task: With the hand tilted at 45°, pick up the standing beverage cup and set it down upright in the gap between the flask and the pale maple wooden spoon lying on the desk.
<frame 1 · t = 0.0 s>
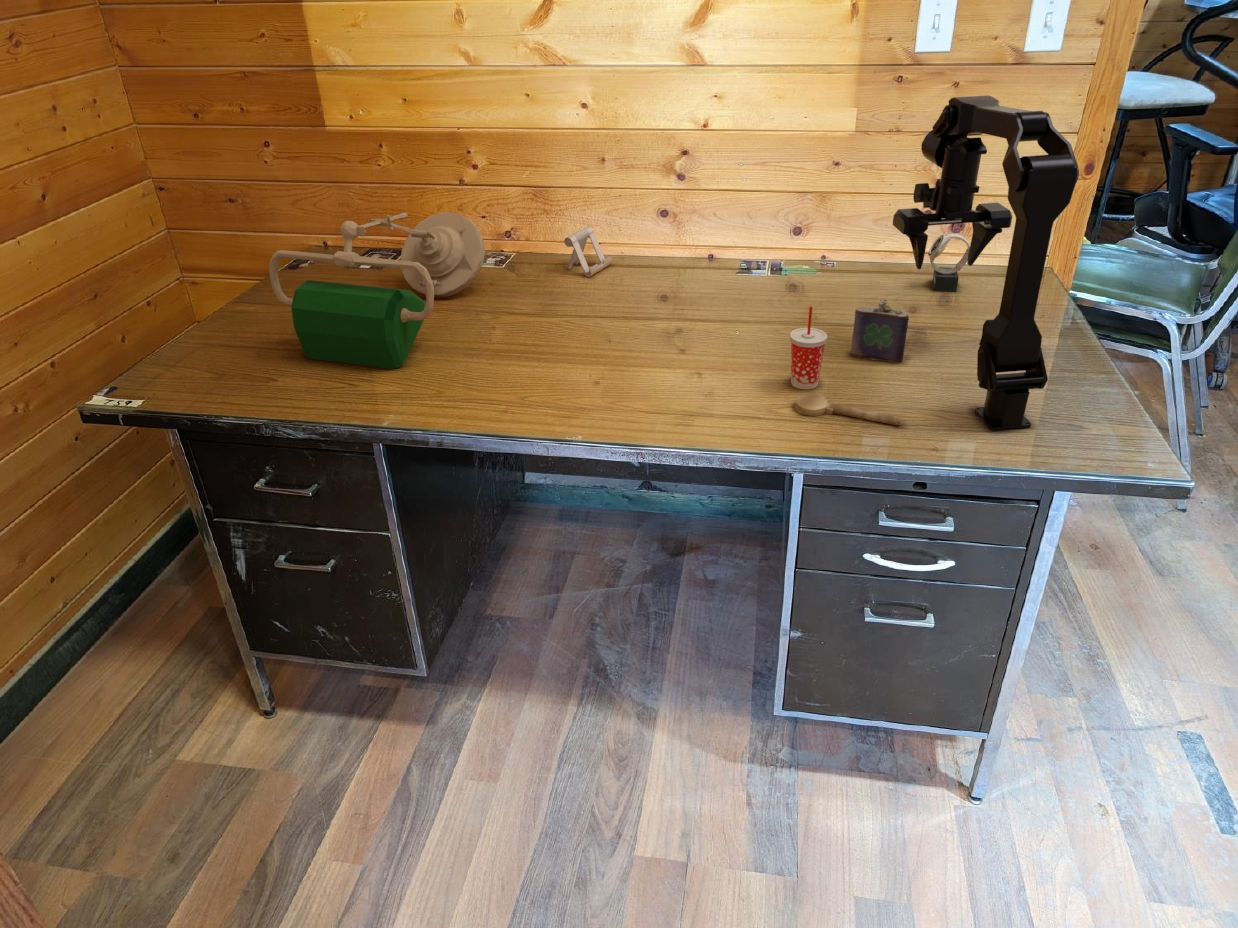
hand: (944, 266, 157), 15 cm above the table, tool pointing down, fingers open, 9 cm apart
tablet stand: (587, 269, 204), on the table
flask: (876, 358, 161), on the table
spoon: (844, 414, 144), on the table
banker's lamp: (410, 317, 185), on the table
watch: (943, 287, 188), on the table
beverage cup: (804, 384, 154), on the table
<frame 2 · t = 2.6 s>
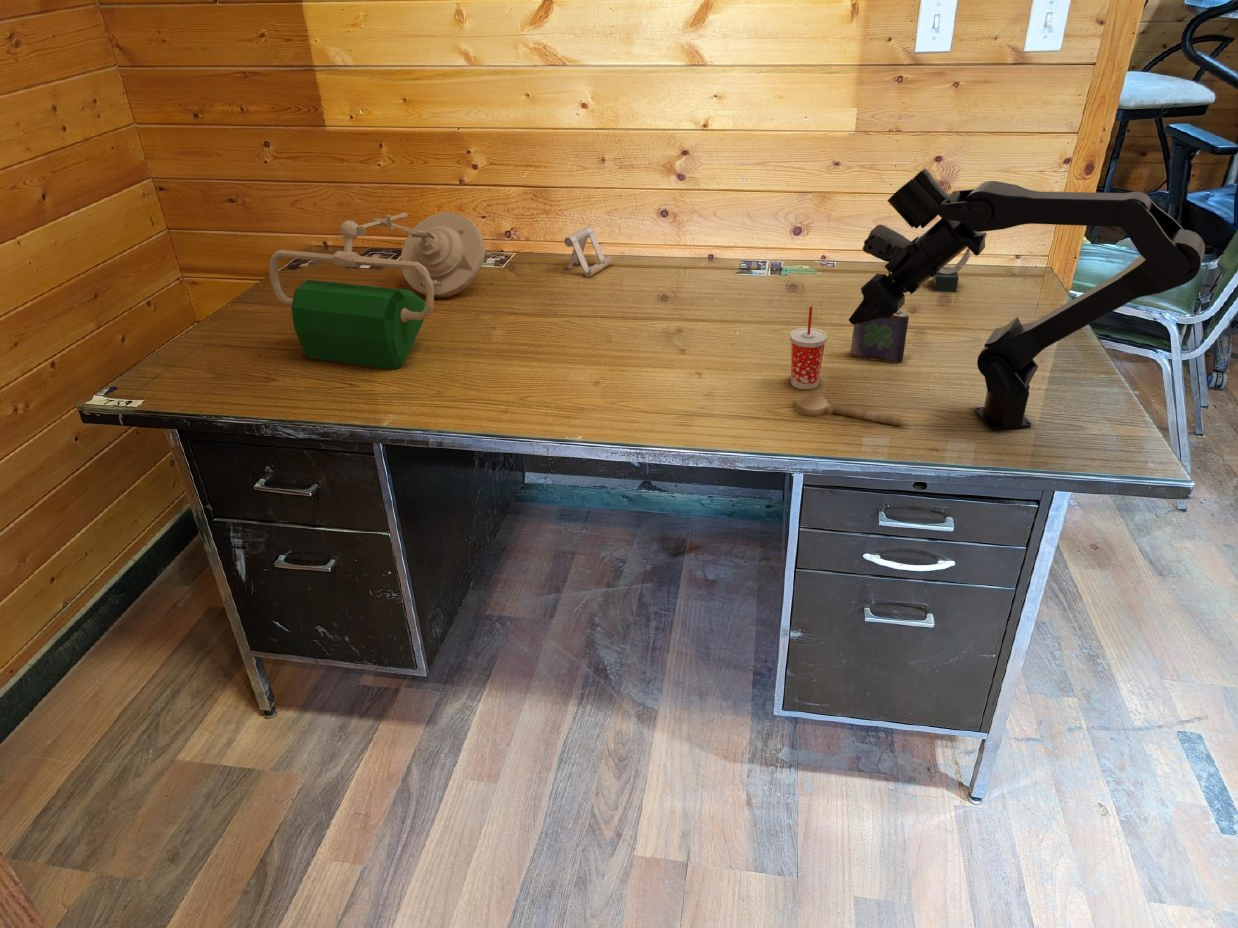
hand: (860, 312, 146), 13 cm above the table, tool tilted 40°, fingers open, 9 cm apart
nothing on the table moved.
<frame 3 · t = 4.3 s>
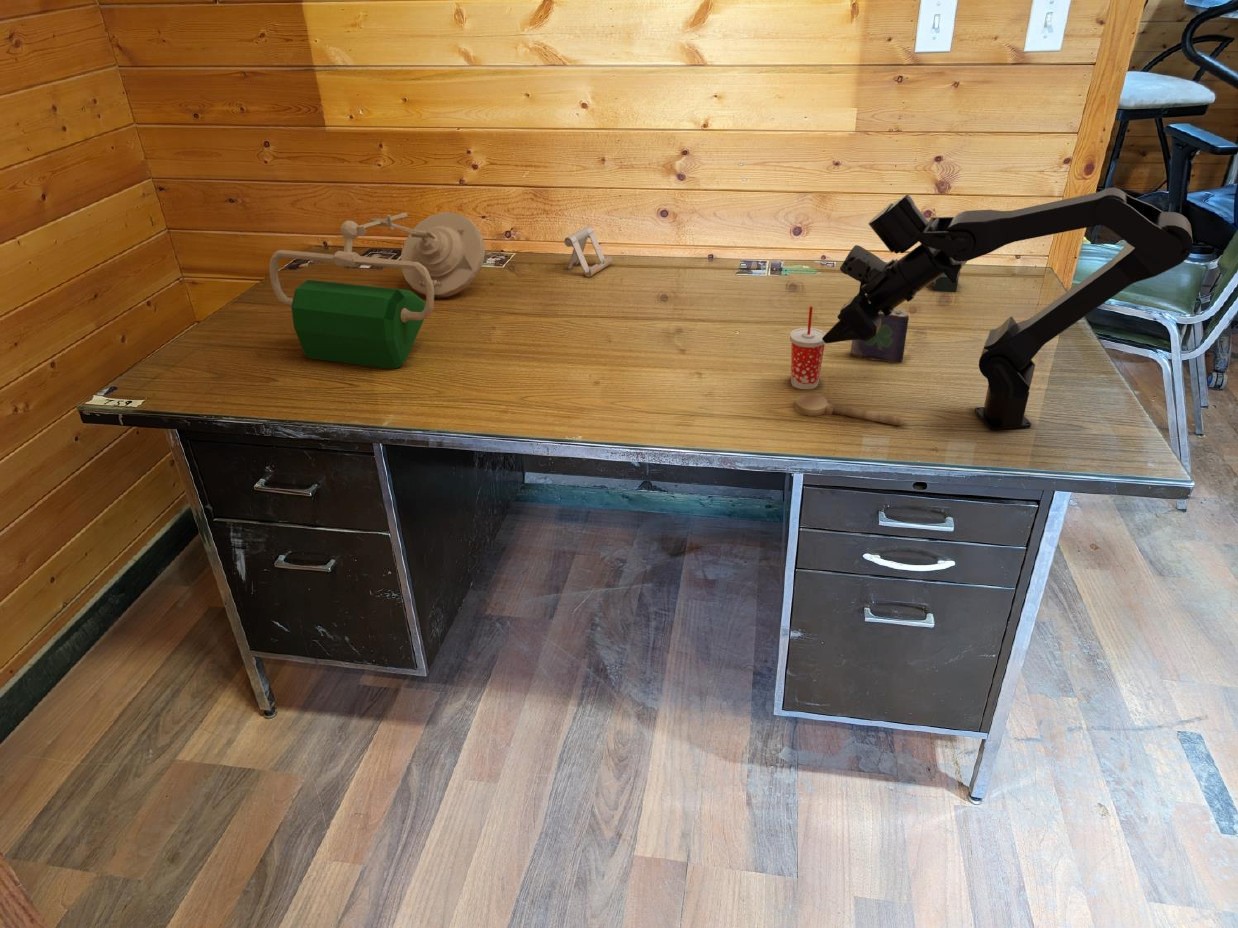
hand: (831, 329, 147), 11 cm above the table, tool tilted 45°, fingers open, 9 cm apart
nothing on the table moved.
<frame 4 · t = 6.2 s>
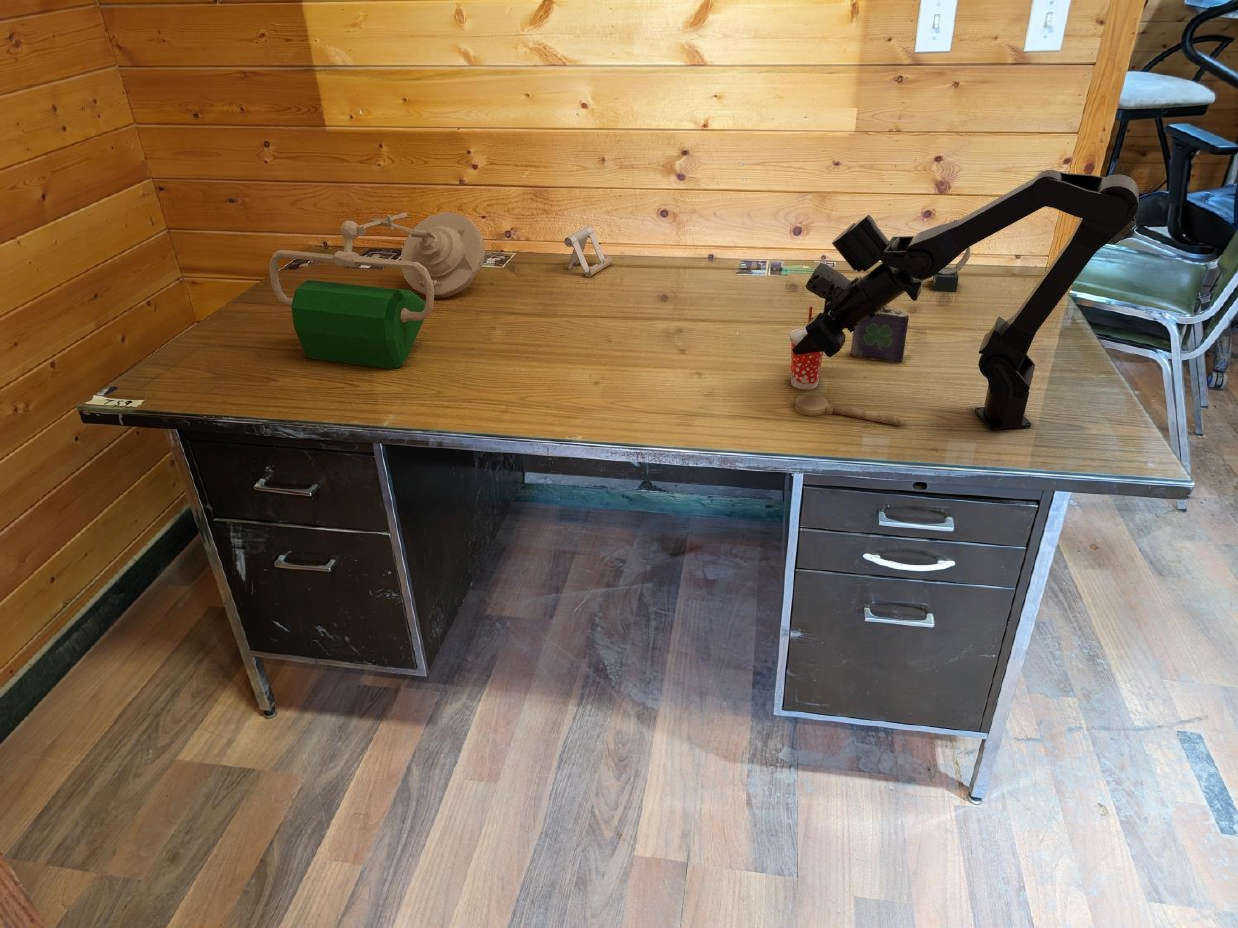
hand: (799, 344, 151), 7 cm above the table, tool tilted 45°, fingers closed on beverage cup, 6 cm apart
beverage cup: (804, 384, 154), on the table, touching gripper
everything else where it was.
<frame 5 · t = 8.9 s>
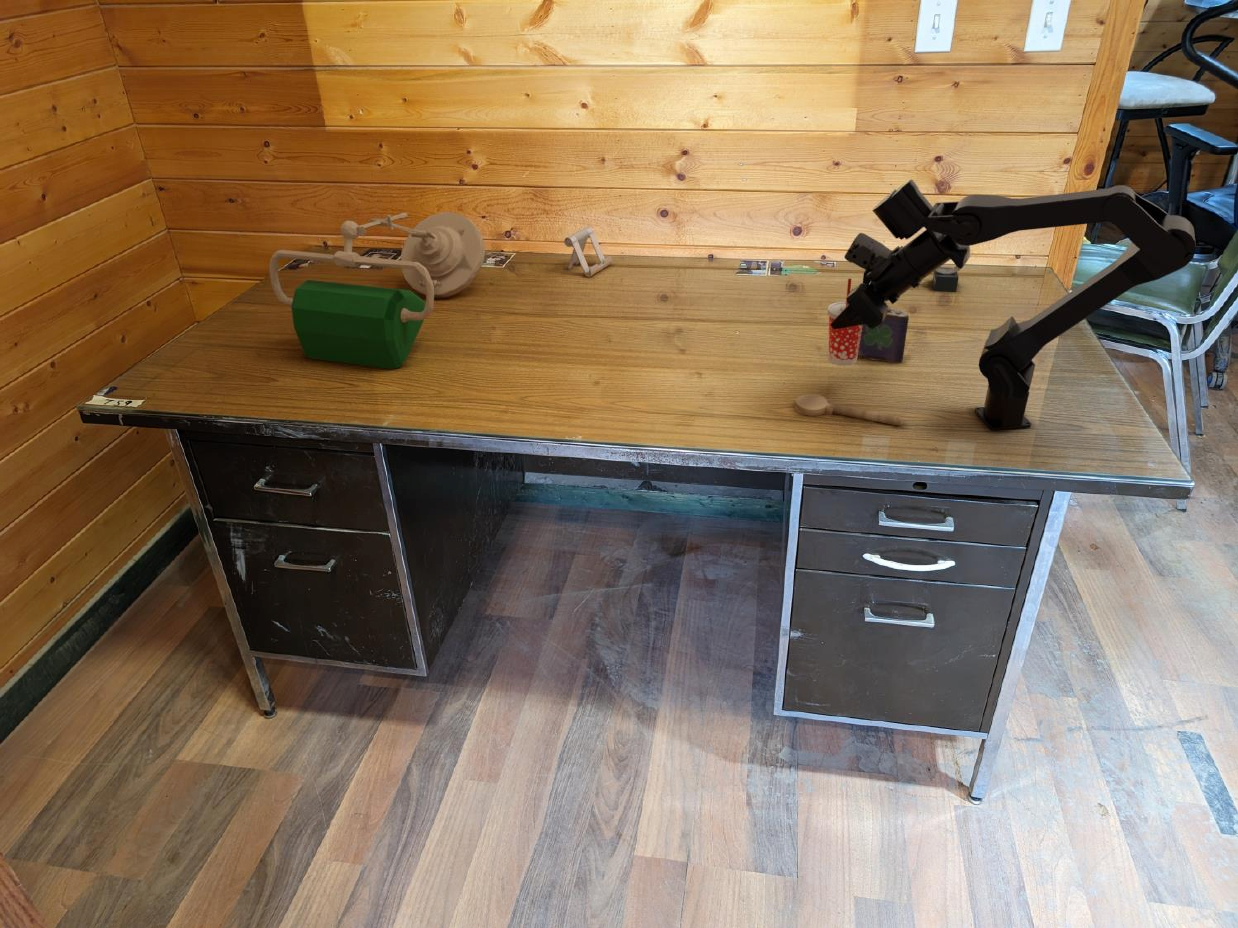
hand: (837, 319, 145), 13 cm above the table, tool tilted 45°, fingers closed on beverage cup, 6 cm apart
beverage cup: (842, 360, 149), point 5 cm above the table, touching gripper
everything else where it was.
when the fingers open (7 cm above the table, at t = 11.5 s): beverage cup stays where it is, on the table.
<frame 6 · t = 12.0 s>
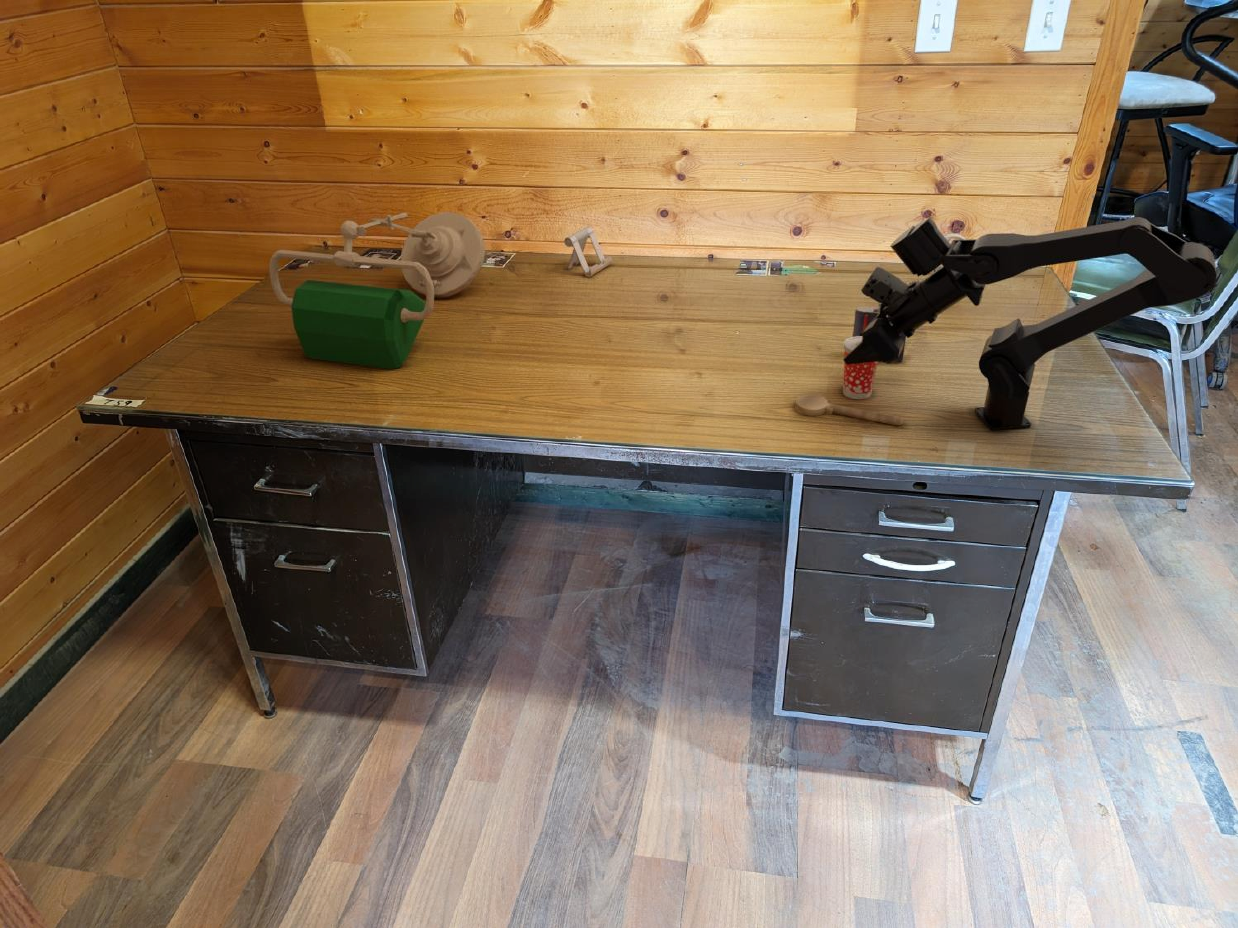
hand: (852, 350, 147), 8 cm above the table, tool tilted 45°, fingers open, 9 cm apart
beverage cup: (856, 393, 150), on the table
everything else where it was.
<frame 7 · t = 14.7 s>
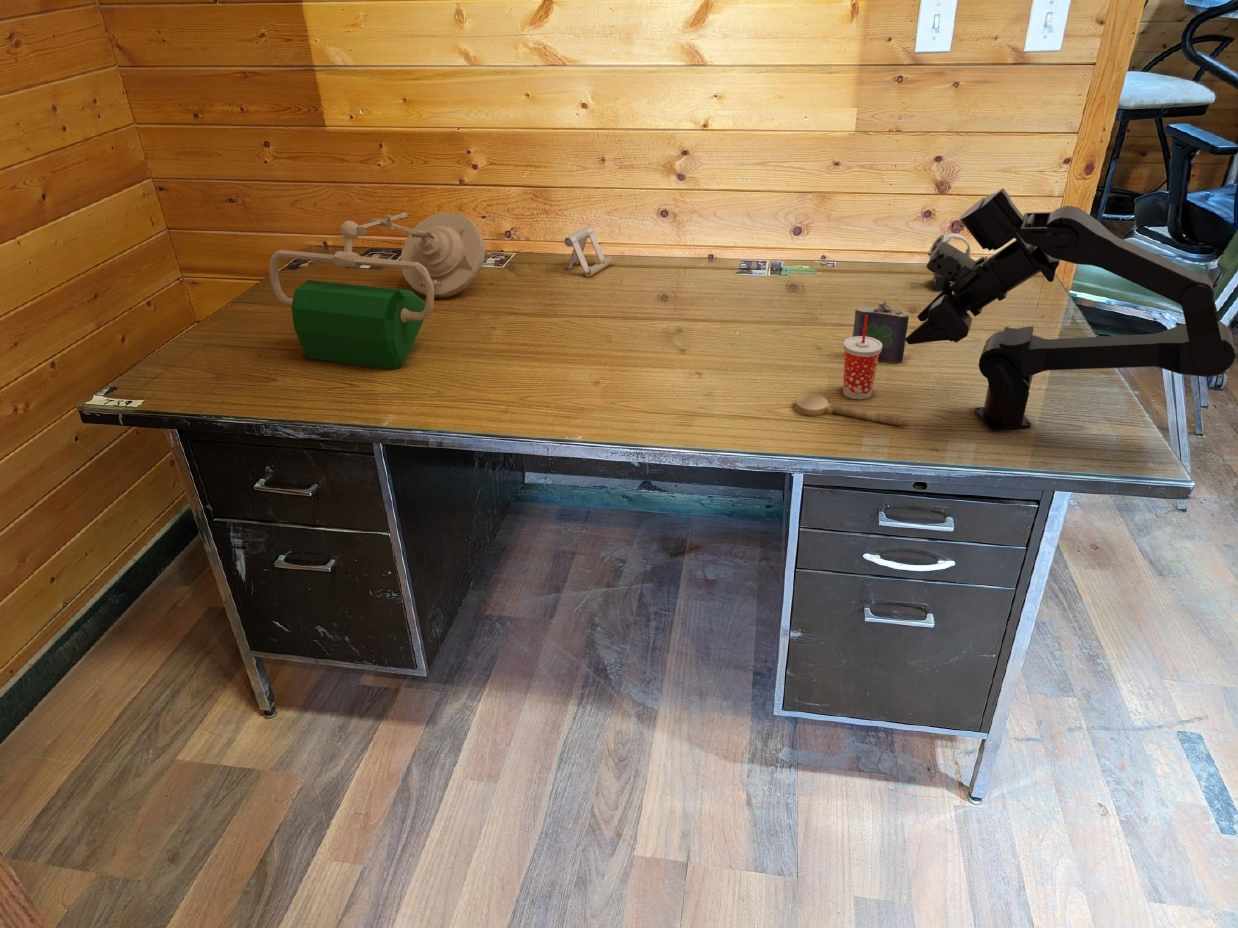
hand: (913, 330, 141), 13 cm above the table, tool tilted 45°, fingers open, 9 cm apart
nothing on the table moved.
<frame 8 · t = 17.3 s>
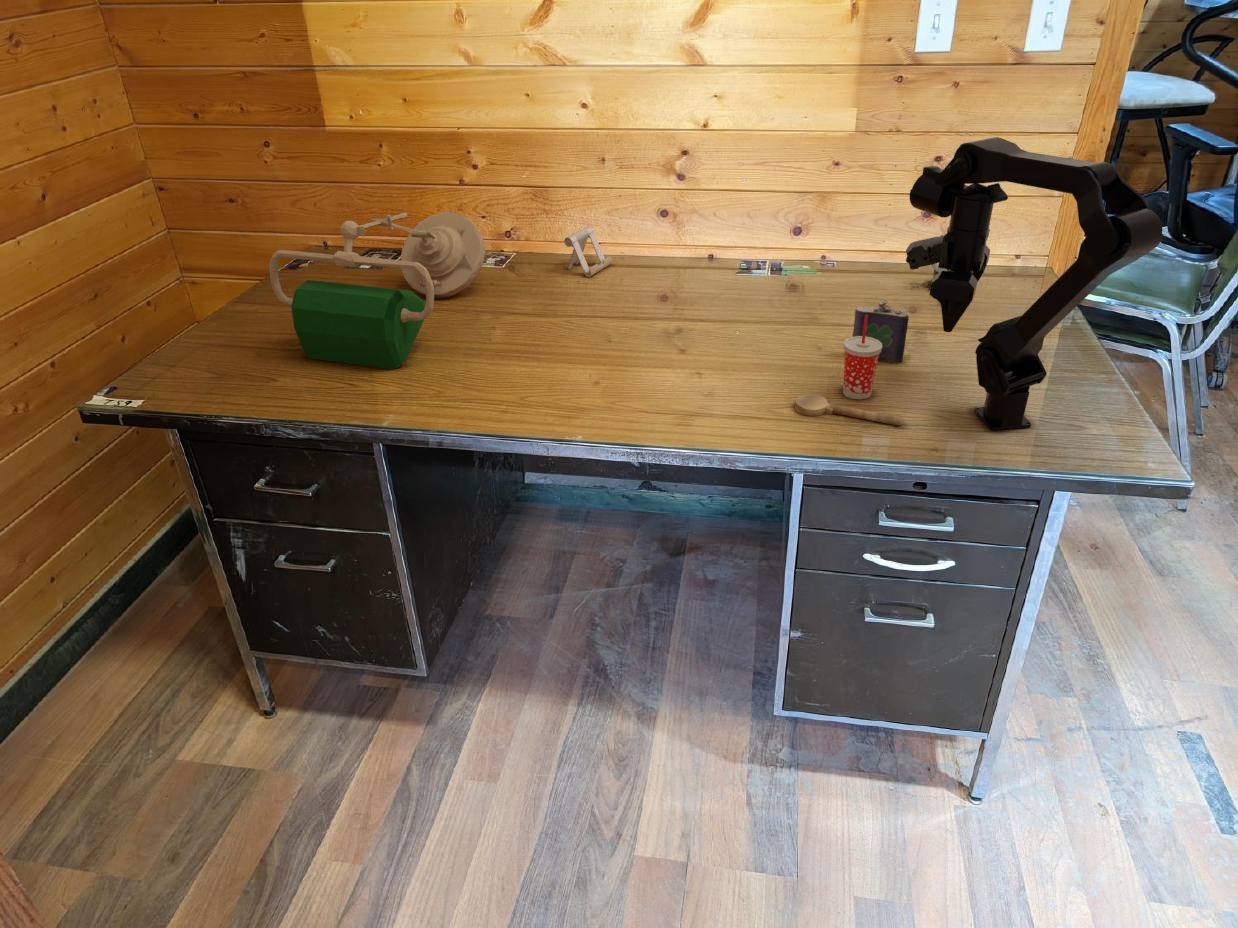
hand: (952, 320, 145), 12 cm above the table, tool pointing down, fingers open, 9 cm apart
nothing on the table moved.
at the end: beverage cup 8.0 cm from the spoon (horizontally); beverage cup 14.5 cm from the flask (horizontally); beverage cup tilted 0° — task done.
